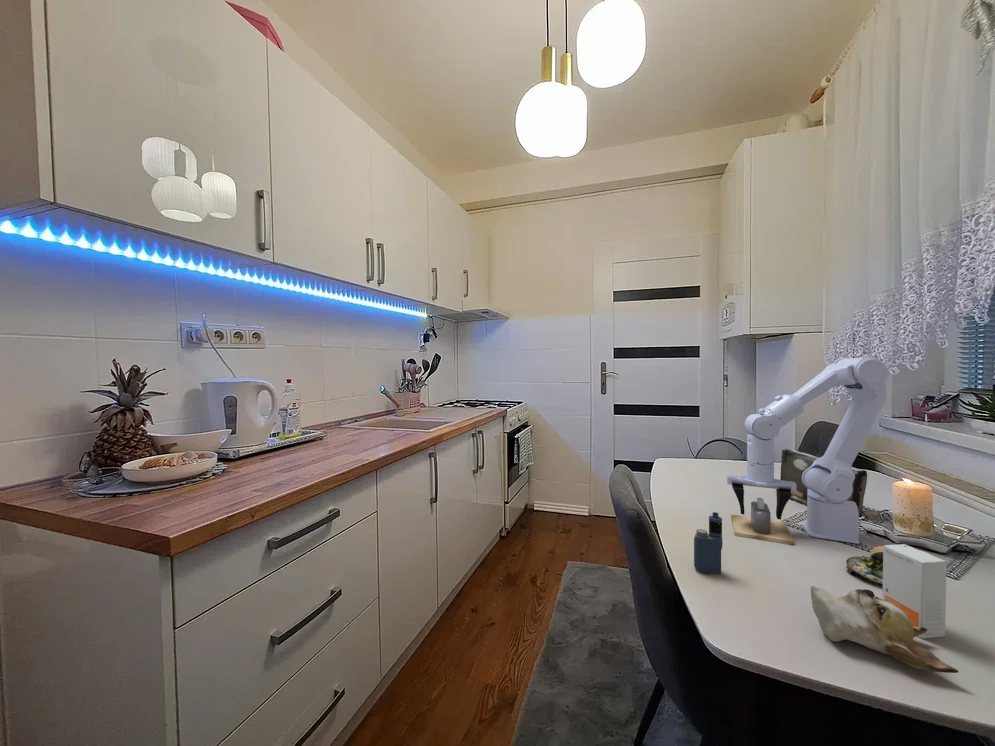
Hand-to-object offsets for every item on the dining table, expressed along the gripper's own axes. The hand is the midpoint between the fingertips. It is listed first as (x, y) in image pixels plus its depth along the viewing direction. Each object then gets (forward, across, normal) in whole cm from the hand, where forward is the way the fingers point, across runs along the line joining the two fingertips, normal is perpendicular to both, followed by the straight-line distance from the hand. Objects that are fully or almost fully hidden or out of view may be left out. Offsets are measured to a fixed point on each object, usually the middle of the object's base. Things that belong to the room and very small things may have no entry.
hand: (760, 515), depth 101 cm
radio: (+4, +18, +28) cm, 34 cm away
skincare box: (+4, +17, -33) cm, 37 cm away
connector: (+3, 0, 0) cm, 3 cm away
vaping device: (+4, -12, -28) cm, 31 cm away
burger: (+4, +19, -16) cm, 25 cm away
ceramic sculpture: (+4, +10, -42) cm, 43 cm away
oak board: (+4, 0, 0) cm, 4 cm away
